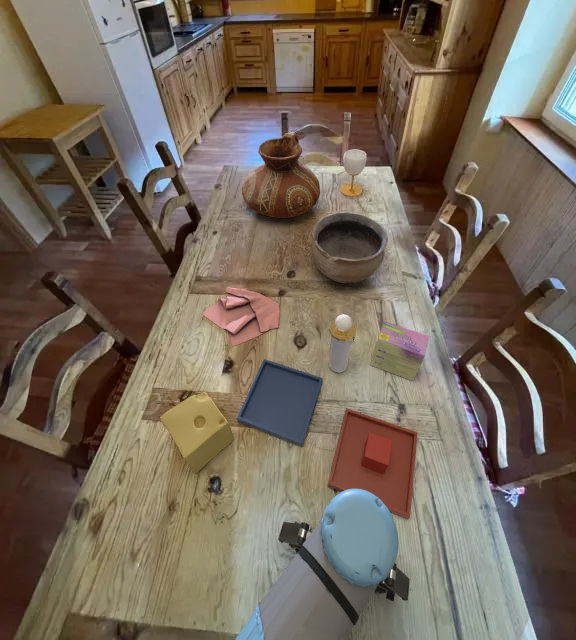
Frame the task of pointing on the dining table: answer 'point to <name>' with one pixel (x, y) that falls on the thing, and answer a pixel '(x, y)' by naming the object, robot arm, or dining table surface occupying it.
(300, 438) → the blue tray
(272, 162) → the jug
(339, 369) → the perfume bottle
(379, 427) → the red tray
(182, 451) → the cheese
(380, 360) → the box
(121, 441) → the dining table surface
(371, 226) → the ceramic bowl
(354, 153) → the cup
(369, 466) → the red block
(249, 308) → the cloth
